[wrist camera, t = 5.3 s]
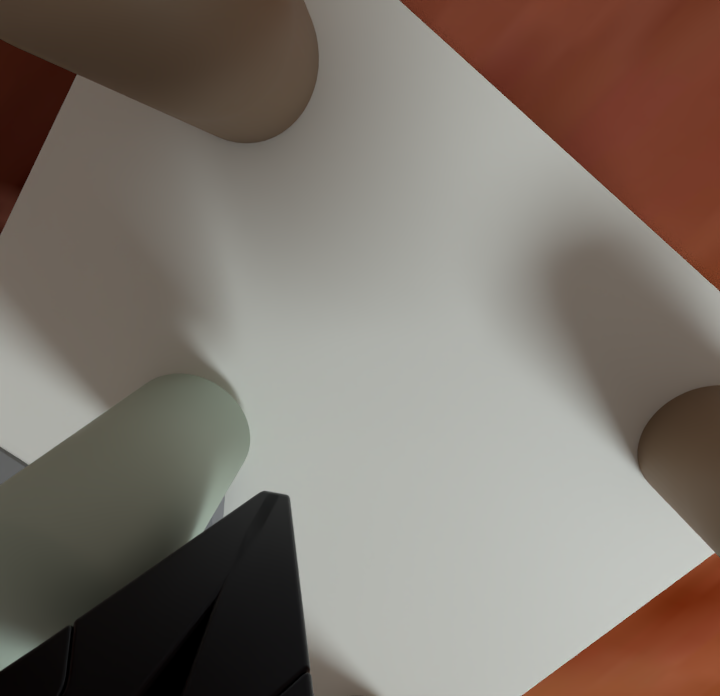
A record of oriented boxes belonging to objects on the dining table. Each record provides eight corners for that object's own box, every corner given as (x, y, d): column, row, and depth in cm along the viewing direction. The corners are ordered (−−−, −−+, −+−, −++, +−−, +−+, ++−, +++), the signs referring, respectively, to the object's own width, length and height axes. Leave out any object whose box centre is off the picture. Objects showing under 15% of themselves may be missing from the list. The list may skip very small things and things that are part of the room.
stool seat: (795, 397, 12) (1348, 646, 5) (375, 736, 16) (366, 1092, 10) (238, -101, 9) (-159, -919, 3) (-59, 466, 14) (-461, 693, 7)
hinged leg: (227, 677, 13) (129, 955, 8) (127, 658, 13) (-31, 924, 8) (255, 385, 10) (130, 545, 5) (126, 362, 10) (-117, 500, 5)
